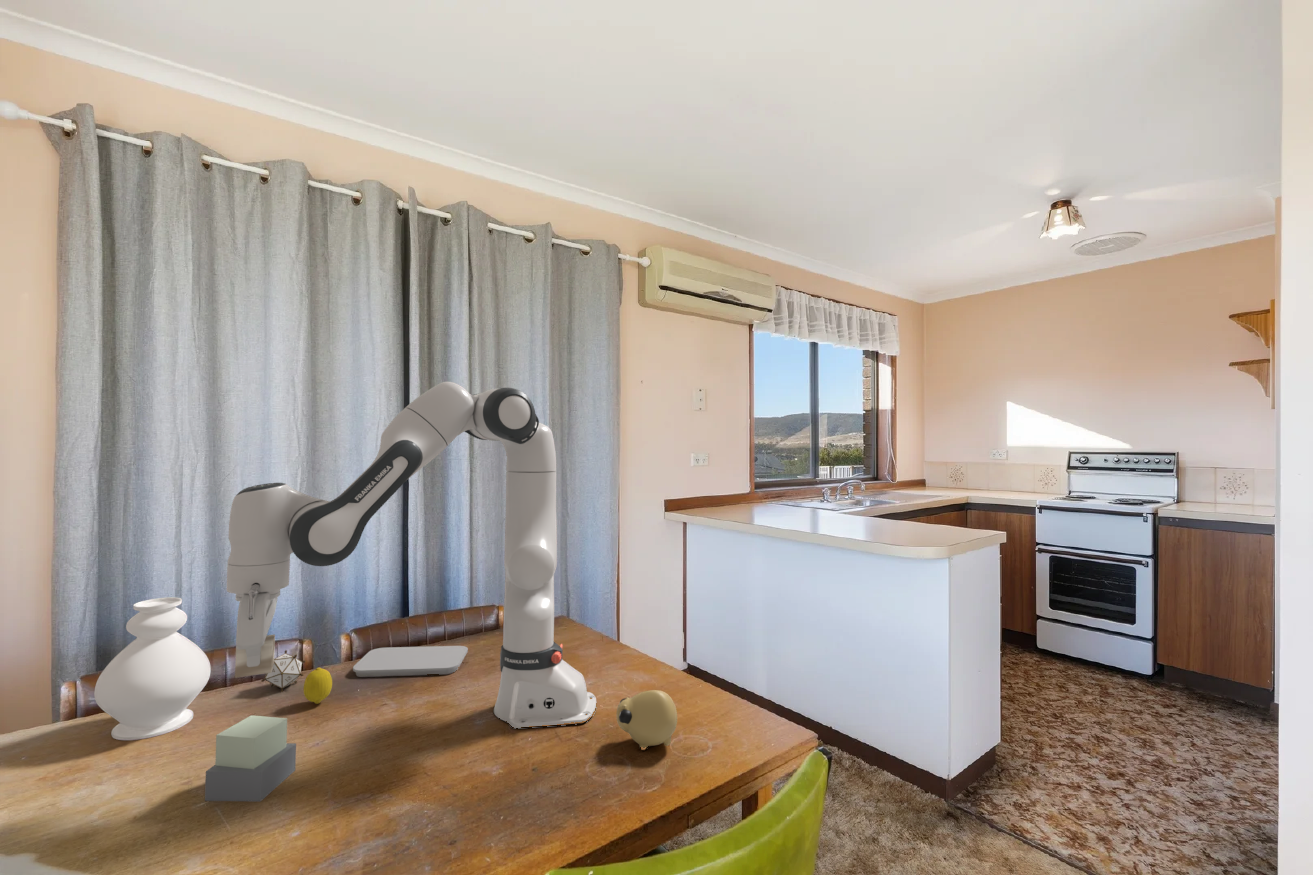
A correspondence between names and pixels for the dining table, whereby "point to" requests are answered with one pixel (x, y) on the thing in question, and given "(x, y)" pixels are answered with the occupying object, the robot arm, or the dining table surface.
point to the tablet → (410, 661)
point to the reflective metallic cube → (265, 662)
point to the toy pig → (648, 717)
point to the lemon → (317, 685)
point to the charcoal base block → (250, 778)
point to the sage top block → (251, 742)
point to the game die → (284, 671)
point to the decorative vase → (153, 674)
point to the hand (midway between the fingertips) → (256, 658)
